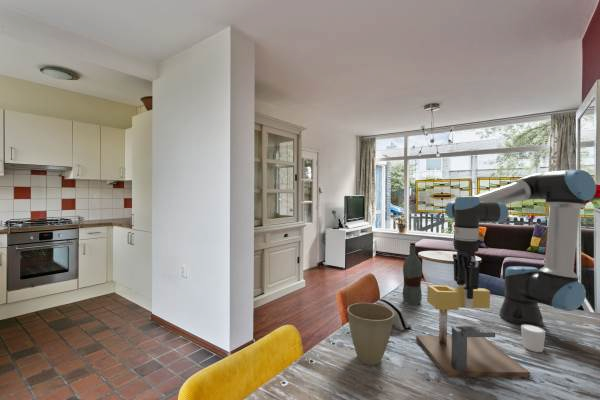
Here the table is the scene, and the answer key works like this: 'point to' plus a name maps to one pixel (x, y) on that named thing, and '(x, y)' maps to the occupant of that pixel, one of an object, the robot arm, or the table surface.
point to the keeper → (465, 343)
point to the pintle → (442, 326)
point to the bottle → (412, 278)
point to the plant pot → (370, 330)
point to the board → (473, 358)
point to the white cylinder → (533, 337)
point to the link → (456, 297)
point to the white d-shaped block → (395, 314)
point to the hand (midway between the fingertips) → (465, 305)
